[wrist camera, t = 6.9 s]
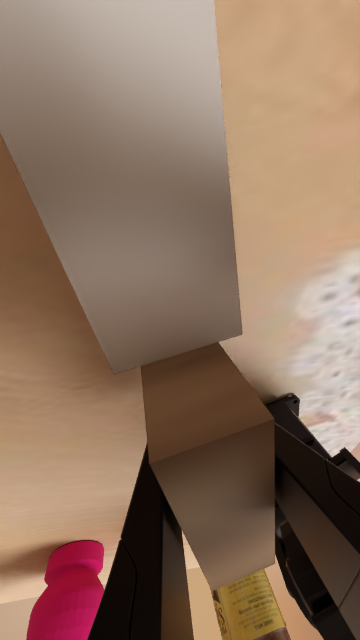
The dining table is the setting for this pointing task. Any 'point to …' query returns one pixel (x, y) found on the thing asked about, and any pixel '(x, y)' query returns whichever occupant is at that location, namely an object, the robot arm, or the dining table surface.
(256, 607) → the sauce bottle
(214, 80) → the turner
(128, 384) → the dining table surface
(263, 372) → the dining table surface
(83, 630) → the pepper mill
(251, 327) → the dining table surface
